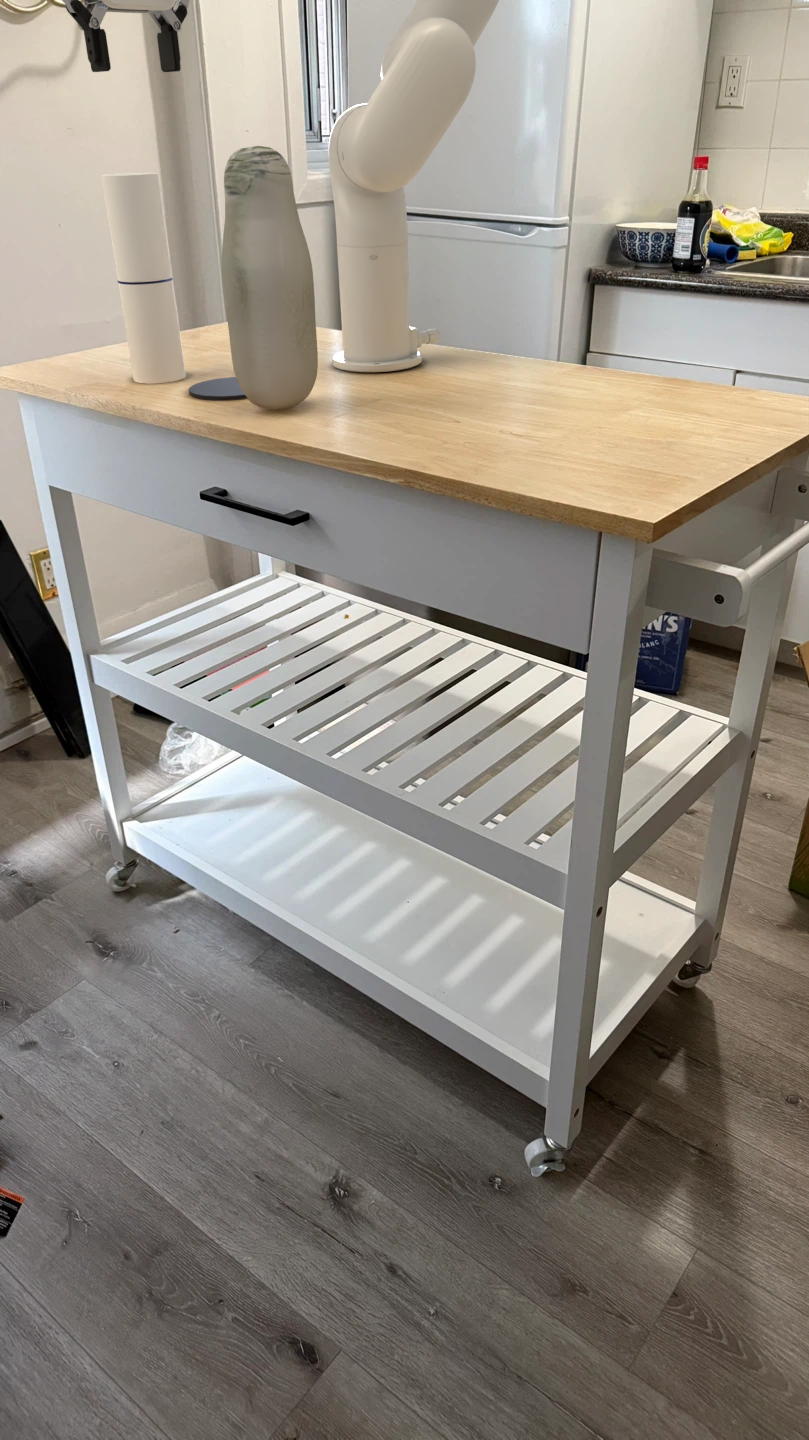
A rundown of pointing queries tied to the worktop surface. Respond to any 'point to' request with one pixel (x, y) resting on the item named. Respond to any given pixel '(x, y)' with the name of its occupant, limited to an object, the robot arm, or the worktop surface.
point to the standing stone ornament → (267, 281)
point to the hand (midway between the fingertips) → (137, 71)
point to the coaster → (217, 389)
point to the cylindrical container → (144, 275)
